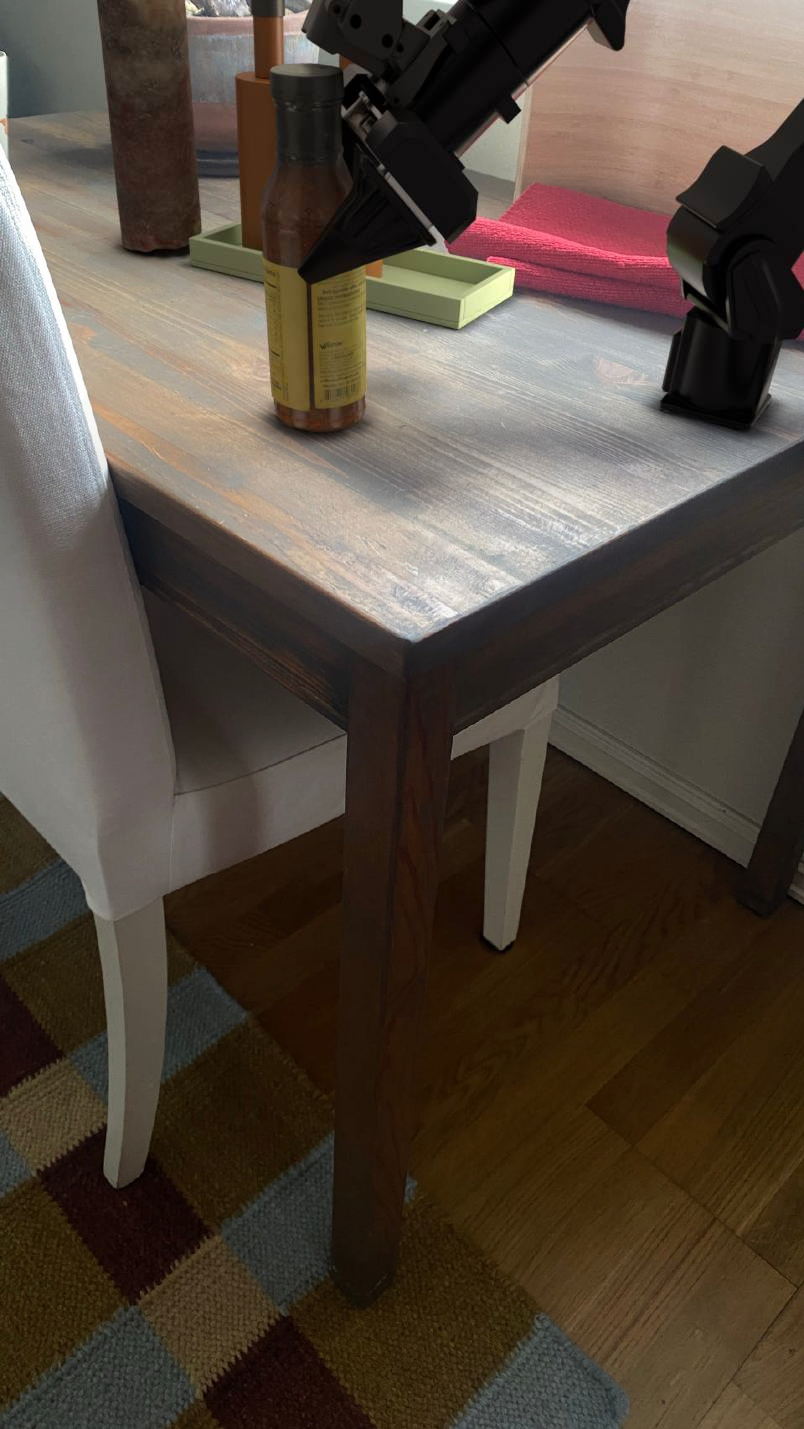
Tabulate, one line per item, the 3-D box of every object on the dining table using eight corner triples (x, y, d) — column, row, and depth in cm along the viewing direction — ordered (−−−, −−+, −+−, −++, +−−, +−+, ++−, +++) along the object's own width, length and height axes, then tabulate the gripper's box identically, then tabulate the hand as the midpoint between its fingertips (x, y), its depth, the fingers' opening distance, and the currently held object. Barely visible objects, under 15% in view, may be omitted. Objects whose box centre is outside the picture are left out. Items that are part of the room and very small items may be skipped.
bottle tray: (512, 295, 90) (544, 23, 78) (458, 329, 83) (484, 35, 70) (259, 238, 100) (251, -14, 87) (190, 265, 92) (170, -7, 80)
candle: (140, 230, 100) (114, -25, 87) (214, 238, 99) (199, -18, 86) (109, 252, 94) (77, -18, 81) (187, 260, 93) (167, -10, 80)
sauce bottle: (371, 402, 71) (382, 63, 59) (359, 441, 66) (368, 81, 54) (276, 394, 71) (267, 55, 59) (257, 432, 67) (243, 72, 54)
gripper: (369, -101, 60) (187, 112, 65) (434, -83, 45) (195, 188, 51) (487, 65, 66) (313, 247, 71) (576, 126, 52) (351, 347, 57)
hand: (294, 254), depth 62 cm, fingers open, 9 cm apart
